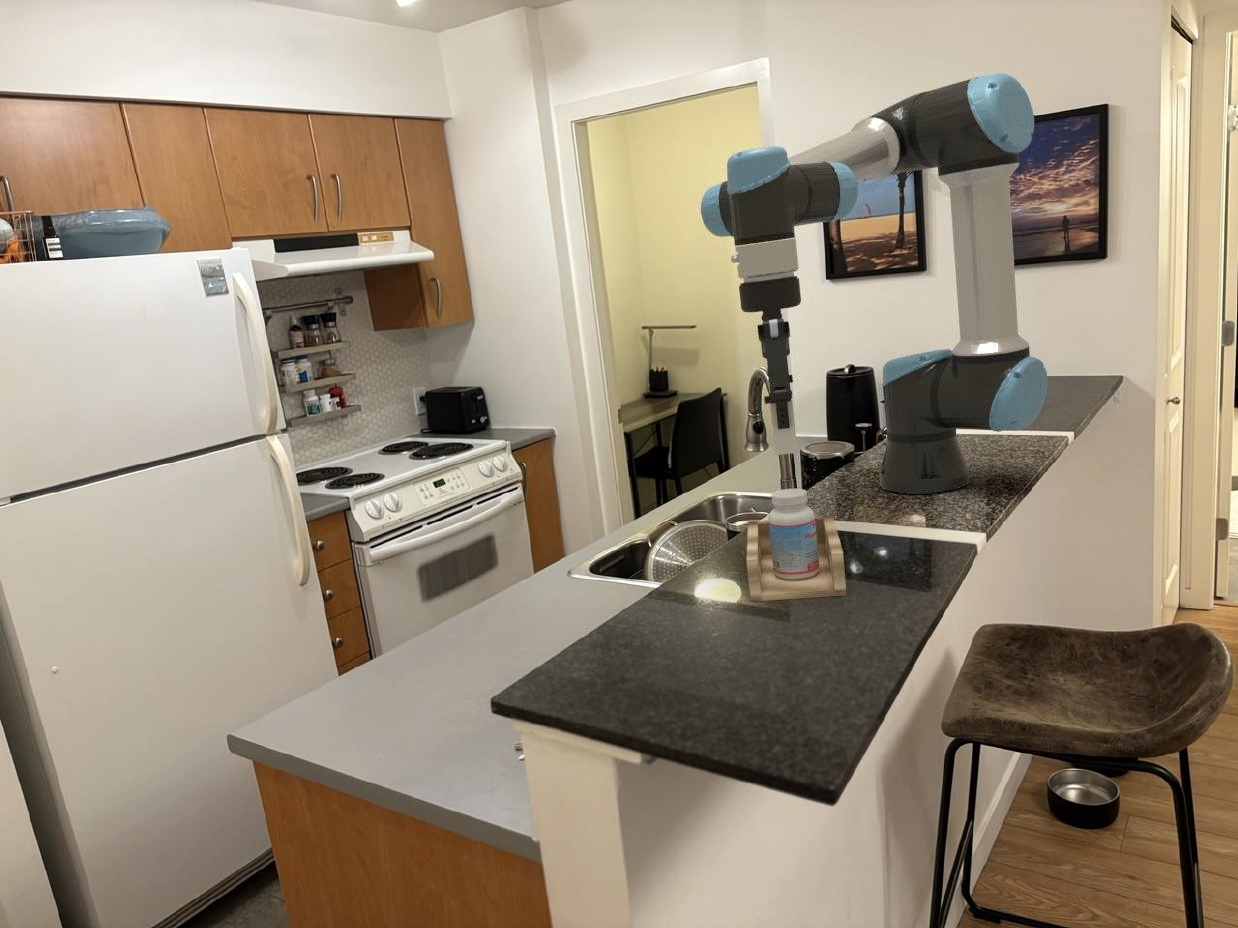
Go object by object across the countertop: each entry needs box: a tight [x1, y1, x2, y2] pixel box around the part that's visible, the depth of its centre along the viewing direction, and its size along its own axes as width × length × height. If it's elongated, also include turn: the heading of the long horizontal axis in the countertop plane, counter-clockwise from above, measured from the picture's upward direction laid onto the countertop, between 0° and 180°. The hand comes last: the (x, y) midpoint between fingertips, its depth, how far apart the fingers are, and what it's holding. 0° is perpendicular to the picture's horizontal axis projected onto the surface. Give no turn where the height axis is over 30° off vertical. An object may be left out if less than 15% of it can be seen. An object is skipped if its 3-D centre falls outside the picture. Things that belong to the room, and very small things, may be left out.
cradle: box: [746, 514, 847, 602], centre depth 125 cm, size 18×12×6 cm
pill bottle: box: [768, 488, 819, 580], centre depth 123 cm, size 6×6×11 cm
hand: (784, 442), depth 120 cm, fingers open, 13 cm apart
